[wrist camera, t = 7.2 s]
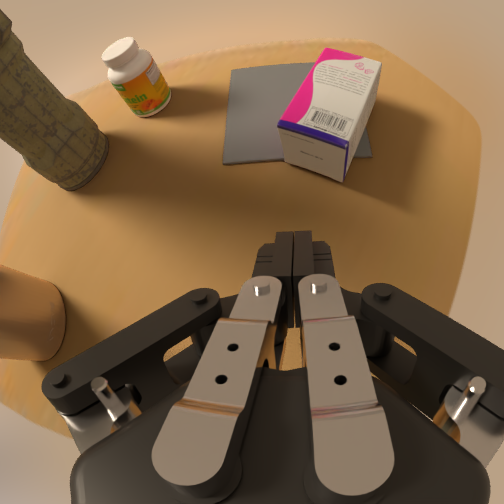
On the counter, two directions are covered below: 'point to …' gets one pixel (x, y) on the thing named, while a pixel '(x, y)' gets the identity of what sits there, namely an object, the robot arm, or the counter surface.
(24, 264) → the counter surface
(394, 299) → the robot arm
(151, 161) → the counter surface
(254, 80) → the rubber mat
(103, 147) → the thermos
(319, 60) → the supplement box
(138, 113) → the supplement bottle
